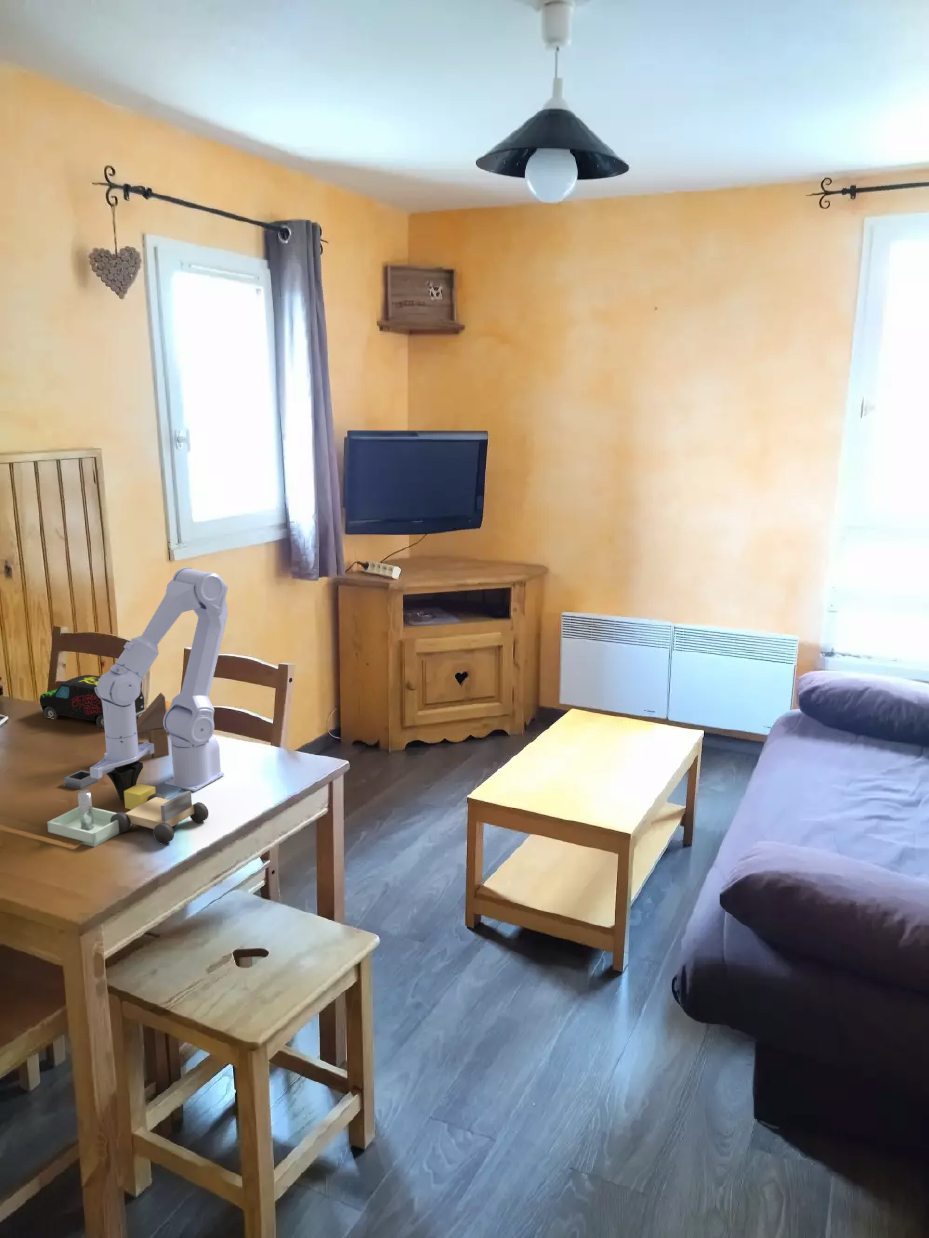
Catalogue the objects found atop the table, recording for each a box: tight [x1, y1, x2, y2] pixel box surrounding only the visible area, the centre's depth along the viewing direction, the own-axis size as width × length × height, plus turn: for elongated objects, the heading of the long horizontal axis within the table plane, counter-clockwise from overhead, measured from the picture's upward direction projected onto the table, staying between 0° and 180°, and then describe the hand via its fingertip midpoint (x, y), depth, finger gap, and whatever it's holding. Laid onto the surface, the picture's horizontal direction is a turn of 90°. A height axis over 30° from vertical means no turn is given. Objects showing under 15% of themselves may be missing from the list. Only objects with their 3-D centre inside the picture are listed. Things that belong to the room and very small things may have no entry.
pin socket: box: [62, 769, 101, 791], centre depth 181 cm, size 5×5×2 cm
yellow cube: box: [124, 783, 157, 810], centre depth 170 cm, size 4×4×4 cm
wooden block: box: [136, 692, 170, 762], centre depth 193 cm, size 4×11×18 cm, turn 121°
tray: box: [46, 806, 120, 848], centre depth 161 cm, size 8×11×2 cm
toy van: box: [38, 674, 147, 728], centre depth 220 cm, size 11×25×10 cm, turn 69°
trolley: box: [111, 790, 209, 845], centre depth 163 cm, size 10×14×6 cm
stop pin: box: [77, 789, 94, 831], centre depth 160 cm, size 2×2×7 cm
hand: (126, 799), depth 172 cm, fingers closed, pressing on yellow cube
